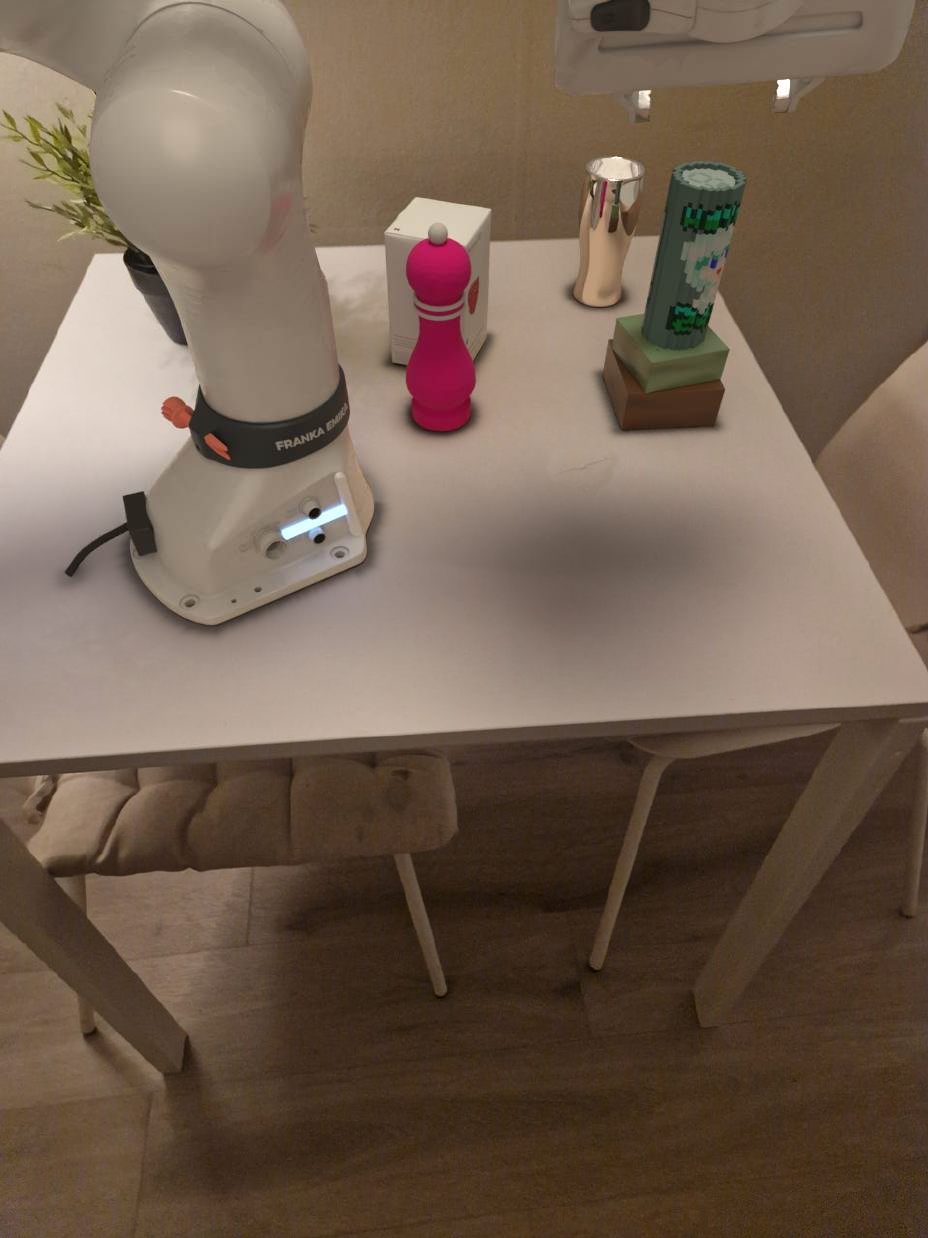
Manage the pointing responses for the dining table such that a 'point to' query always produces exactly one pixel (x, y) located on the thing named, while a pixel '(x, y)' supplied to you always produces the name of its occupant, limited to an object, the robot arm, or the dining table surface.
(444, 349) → the pepper mill
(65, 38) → the robot arm
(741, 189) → the can
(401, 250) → the white product box
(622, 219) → the beer glass
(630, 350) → the block stack
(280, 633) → the dining table surface
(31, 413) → the dining table surface
